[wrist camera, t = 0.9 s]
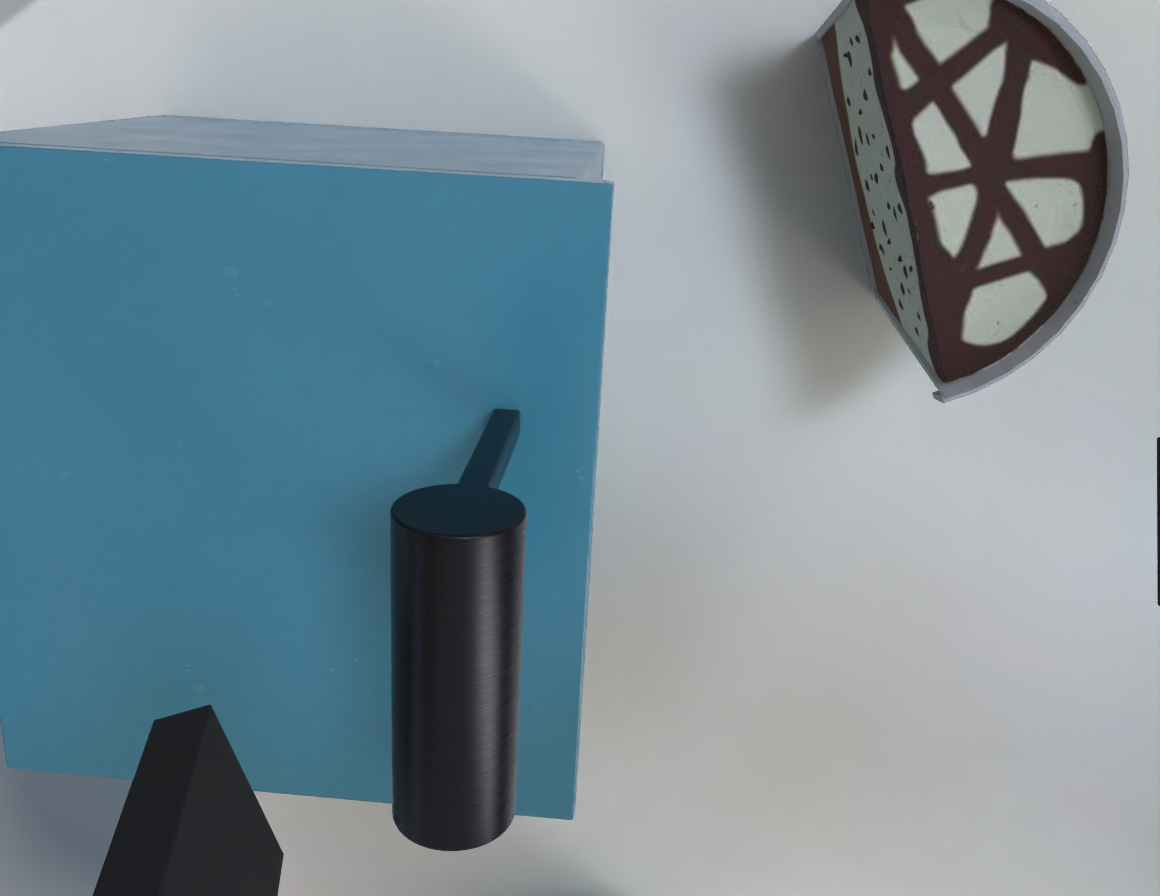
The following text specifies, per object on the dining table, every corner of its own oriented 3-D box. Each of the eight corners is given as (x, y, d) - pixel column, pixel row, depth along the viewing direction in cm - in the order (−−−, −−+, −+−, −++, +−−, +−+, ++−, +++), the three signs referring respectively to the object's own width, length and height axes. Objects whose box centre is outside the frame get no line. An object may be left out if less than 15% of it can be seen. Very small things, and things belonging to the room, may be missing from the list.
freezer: (604, 141, 38) (577, 177, 26) (578, 596, 44) (545, 799, 32) (162, 114, 39) (-67, 138, 27) (196, 564, 45) (22, 751, 33)
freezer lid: (614, 180, 26) (591, 236, 17) (575, 803, 32) (544, 1066, 23) (-69, 138, 27) (-404, 172, 18) (21, 752, 33) (-200, 989, 24)
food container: (1053, 288, 39) (1179, 360, 29) (882, 334, 40) (950, 419, 30) (992, -74, 35) (1114, -125, 25) (804, -13, 36) (855, -40, 26)
